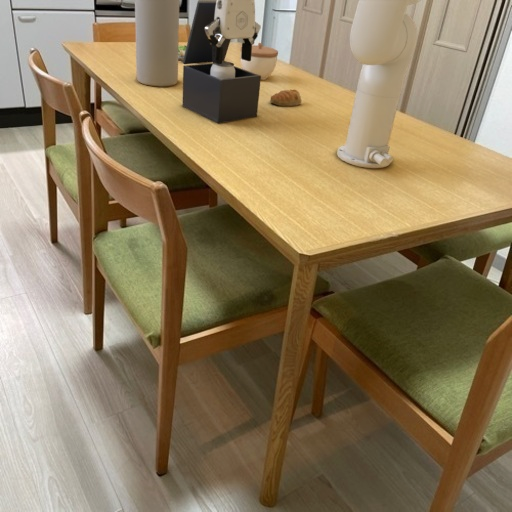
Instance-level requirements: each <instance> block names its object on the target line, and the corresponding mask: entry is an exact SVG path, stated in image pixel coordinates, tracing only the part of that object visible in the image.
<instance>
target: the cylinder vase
mask: <svg viewBox="0 0 512 512" xmlns="http://www.w3.org/2000/svg"><path fill="white" fill-rule="evenodd" d="M134 18H135V19H134V23H135V24H134V25H135V64H136V65H135V66H136V80H137V81H138V83H140V84H142V85H145V86H150V87H160V88H161V87H171V86H174V85H176V84H177V83H178V81H179V60H178V47H179V37H180V36H179V35H180V32H179V31H180V0H134Z"/></svg>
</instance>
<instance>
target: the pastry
mask: <svg viewBox="0 0 512 512" xmlns="http://www.w3.org/2000/svg"><path fill="white" fill-rule="evenodd" d="M300 93H301V92H299V91H298V90H297V89H284V90H280V91H279V92H276V93H274V94H273V95H271V96H270V100H269V102H270V103H272V104H274V105H277V106H279V107H287V106H288V107H292V106H293V107H294V106H299V105H301V103H302V97H301V95H300Z"/></svg>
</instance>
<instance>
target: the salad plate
mask: <svg viewBox="0 0 512 512" xmlns="http://www.w3.org/2000/svg"><path fill="white" fill-rule="evenodd" d="M186 47H187V45H178V62H183V59H184V55H185V51H186Z"/></svg>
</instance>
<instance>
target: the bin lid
mask: <svg viewBox="0 0 512 512" xmlns="http://www.w3.org/2000/svg"><path fill="white" fill-rule="evenodd" d="M216 1H217V0H198V1H197V2H196V7H195V10H194V16H193V19H192V24H191V28H190V32H189V35H188V39H187V42H186V43H187V44H186V46H187V47H186V51H185V55H184V59H183V61H182V64H183V65H195V64H207V63H213V61H212V49H213V45H211V44H210V41H209V40H208V39H207V35H206V32H205V27H206V26H207V25H208V24H210V23H211V22H213V21H214V16H215V7H216ZM213 35H215V34H214V30H213ZM218 40H219V39H218ZM231 40H232V39H226V38H225V40H224V42H223V43H222V45H221V47H223V56H222V61H226V60H225V59H226V56H227V54H228V50H229V47H230V43H231Z"/></svg>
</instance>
